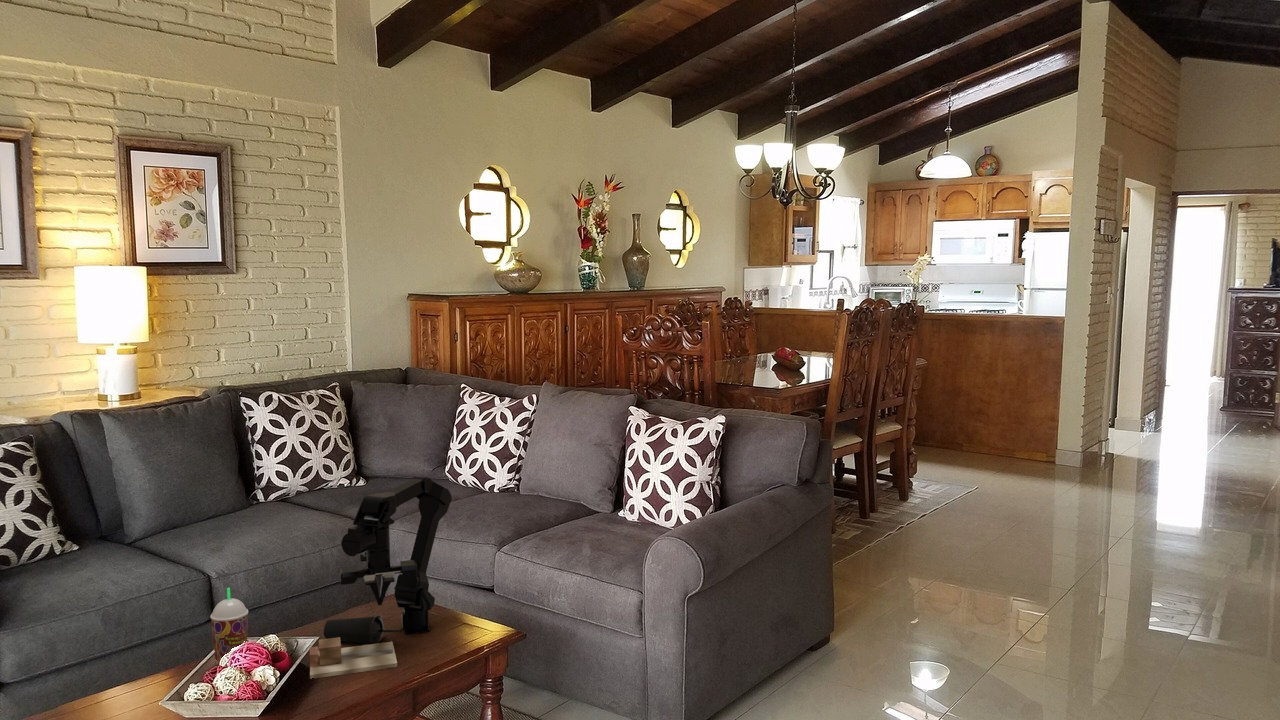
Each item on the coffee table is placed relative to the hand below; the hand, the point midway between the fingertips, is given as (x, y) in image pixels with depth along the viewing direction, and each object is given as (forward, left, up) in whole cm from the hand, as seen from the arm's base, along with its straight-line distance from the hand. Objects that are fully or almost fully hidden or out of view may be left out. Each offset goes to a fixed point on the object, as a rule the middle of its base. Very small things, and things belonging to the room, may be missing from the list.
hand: (379, 604), depth 226 cm
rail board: (+7, +5, -12) cm, 15 cm away
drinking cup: (+13, -12, -9) cm, 20 cm away
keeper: (+12, +5, -11) cm, 17 cm away
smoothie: (+35, -1, -12) cm, 37 cm away
